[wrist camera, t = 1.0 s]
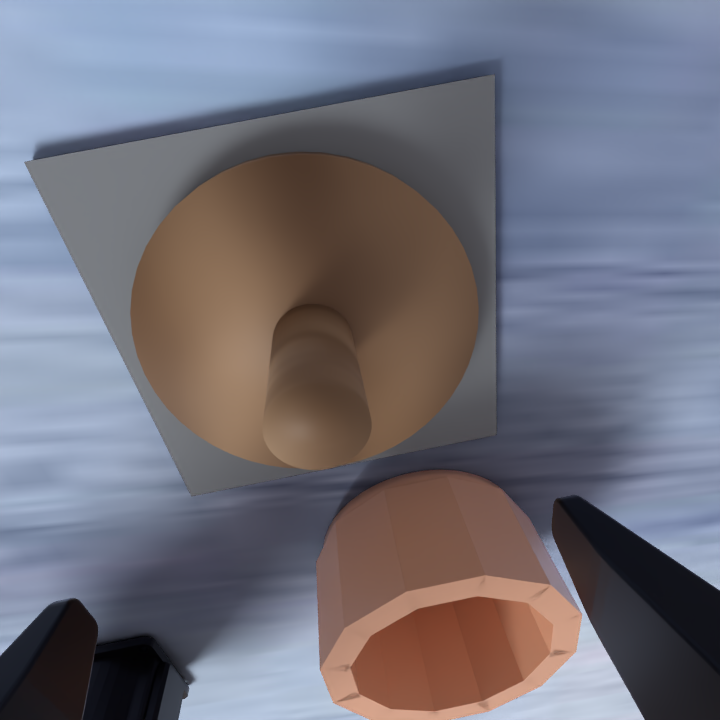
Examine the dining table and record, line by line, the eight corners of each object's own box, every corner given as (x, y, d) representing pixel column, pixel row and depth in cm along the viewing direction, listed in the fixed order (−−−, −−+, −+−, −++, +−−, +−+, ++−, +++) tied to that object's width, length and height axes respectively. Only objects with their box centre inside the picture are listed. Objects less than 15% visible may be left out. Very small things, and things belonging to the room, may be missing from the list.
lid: (206, 476, 20) (173, 609, 15) (75, 191, 14) (-63, 246, 8) (474, 422, 20) (536, 533, 15) (462, 118, 14) (559, 127, 9)
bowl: (339, 619, 27) (348, 741, 22) (298, 491, 22) (297, 614, 16) (518, 581, 27) (569, 694, 22) (522, 445, 22) (592, 552, 17)
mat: (193, 489, 21) (191, 496, 20) (31, 160, 13) (24, 162, 13) (493, 429, 21) (496, 434, 21) (490, 75, 14) (494, 74, 13)
